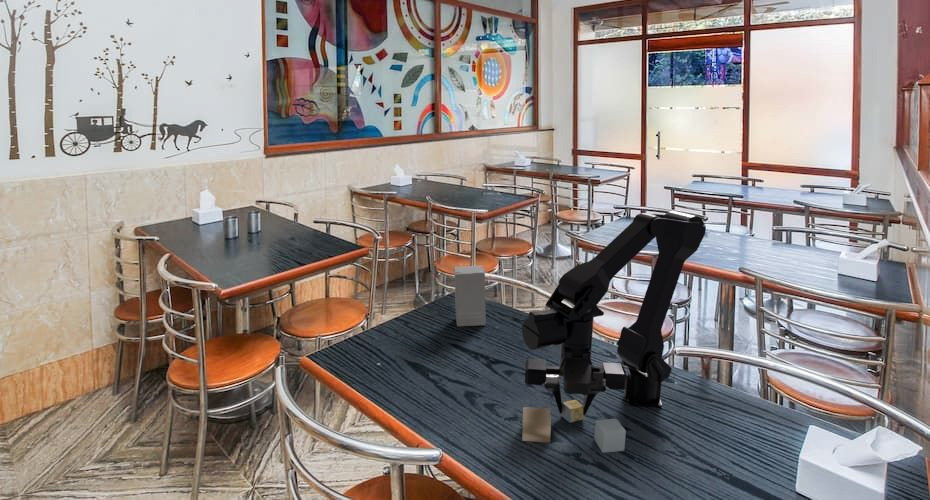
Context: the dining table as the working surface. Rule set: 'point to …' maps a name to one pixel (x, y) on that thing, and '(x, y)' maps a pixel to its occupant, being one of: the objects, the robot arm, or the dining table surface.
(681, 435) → the dining table surface
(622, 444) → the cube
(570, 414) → the alphabet block
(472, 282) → the skincare box
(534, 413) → the beech block
